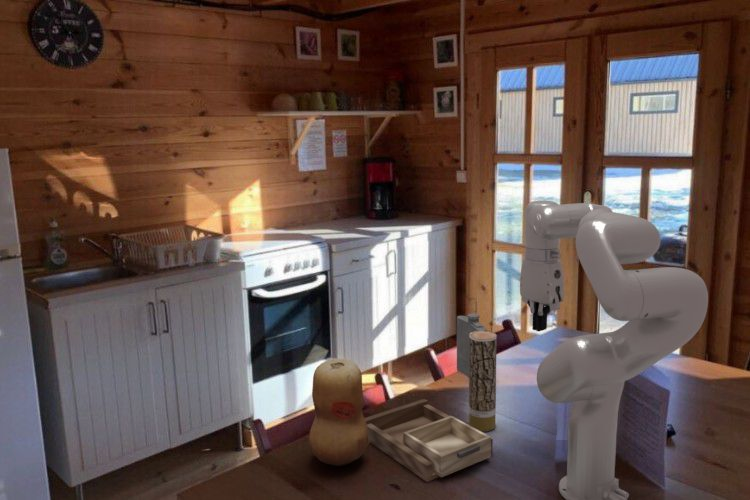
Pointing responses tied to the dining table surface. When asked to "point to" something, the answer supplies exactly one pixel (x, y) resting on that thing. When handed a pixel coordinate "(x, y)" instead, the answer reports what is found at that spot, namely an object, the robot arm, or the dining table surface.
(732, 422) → the dining table surface
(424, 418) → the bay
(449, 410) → the dining table surface
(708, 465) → the dining table surface
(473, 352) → the wooden log
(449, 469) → the crate
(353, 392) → the butternut squash
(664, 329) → the robot arm
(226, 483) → the dining table surface
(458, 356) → the hip flask
